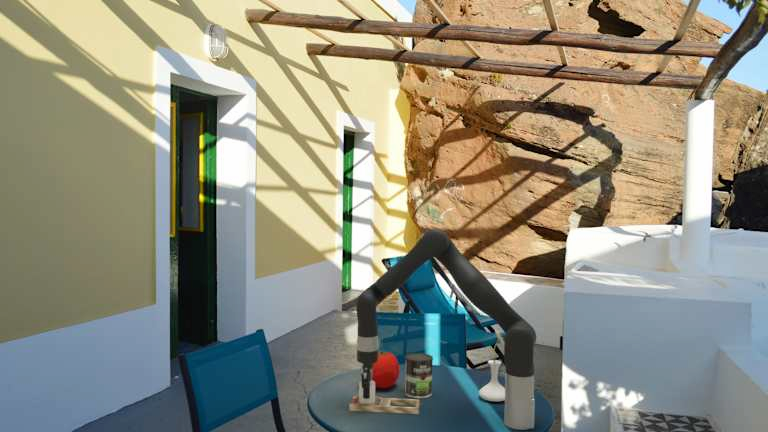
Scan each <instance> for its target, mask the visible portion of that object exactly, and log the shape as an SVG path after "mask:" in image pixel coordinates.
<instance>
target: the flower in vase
mask: <svg viewBox="0 0 768 432" xmlns="http://www.w3.org/2000/svg"><path fill="white" fill-rule="evenodd" d="M494 332H495V336H496V337H497V341H496V343H495V345H494V348H493V349H492V353H493V356H492V357H491V358H493V359H491V360H487V363H488V364H489V367H490V373H491V377H490V381H489V382H488V383H487V384H486V385H484V386H483V387H481V388H480V390H479V391H478V393H477V394H478V396H479V397H480V398H482V399H483V400H486V401H489V402H503V401H504V402H505V386H503V385H502V384H501V383H500V382H499V380H498V376H499V375H498V373H499V368H500V366H501V364H502V361H500V360H497V359H495V358H496V357H499V354H497V353H496V351H495V350H496V346H497V344H498V343H500V344H501V346H502V347H503V348H504V342H505V340H504V337H502V336H501V335H500V334H501V333H500V332H499V331H498V329H495V330H494Z"/></svg>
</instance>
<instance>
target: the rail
mask: <svg viewBox="0 0 768 432" xmlns="http://www.w3.org/2000/svg"><path fill="white" fill-rule="evenodd" d="M348 406H349V408H348V409H349V411H350V412H366V413H367V412H368V413H369V412H370V413H385V414H387V413H388V414H408V415H410V414H411V415H419V414H420V406H421V400H420V399H418V398H412V399H411V398H393V397H392V398H391V397H381V396H375V404H360V403H359V395H356V396H353V397H352V400H351V403H350V404H349V405H348Z"/></svg>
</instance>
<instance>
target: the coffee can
mask: <svg viewBox="0 0 768 432" xmlns="http://www.w3.org/2000/svg"><path fill="white" fill-rule="evenodd" d="M404 358H405V380H404V381H405V382H404V395H405V396H407V397H408V398H412V399H427V398H430V397H432V395H433V361H434V360H433V359H434V357H433V355H431V354H428V353H421V352H415V353H409V354H406V355H405V357H404Z"/></svg>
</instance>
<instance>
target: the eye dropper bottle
mask: <svg viewBox="0 0 768 432" xmlns="http://www.w3.org/2000/svg"><path fill="white" fill-rule="evenodd" d="M369 379H370V378H369ZM365 384H367V383H365ZM358 396H359V403H358V404H375V397H376V388H375V382H374V381H373V380H371V381H370V398H369V399H364V398H363V388H362V380H361V381H359V384H358Z"/></svg>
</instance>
